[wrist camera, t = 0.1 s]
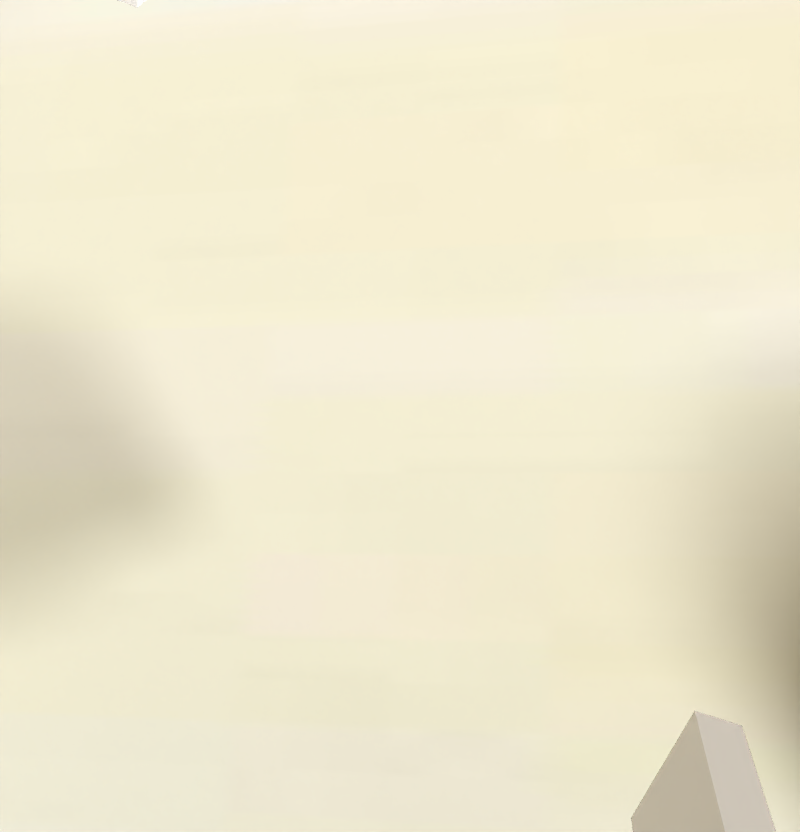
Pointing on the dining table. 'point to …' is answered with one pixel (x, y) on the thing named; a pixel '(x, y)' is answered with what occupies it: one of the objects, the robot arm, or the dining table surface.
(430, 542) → the dining table surface
